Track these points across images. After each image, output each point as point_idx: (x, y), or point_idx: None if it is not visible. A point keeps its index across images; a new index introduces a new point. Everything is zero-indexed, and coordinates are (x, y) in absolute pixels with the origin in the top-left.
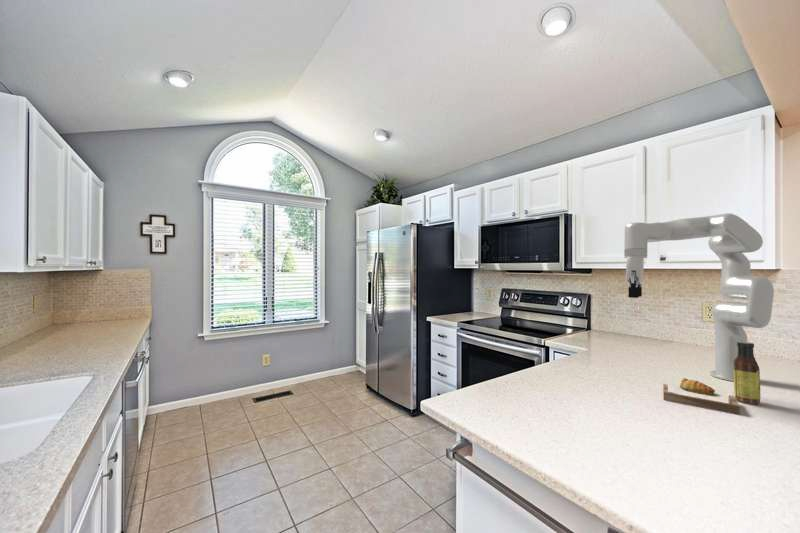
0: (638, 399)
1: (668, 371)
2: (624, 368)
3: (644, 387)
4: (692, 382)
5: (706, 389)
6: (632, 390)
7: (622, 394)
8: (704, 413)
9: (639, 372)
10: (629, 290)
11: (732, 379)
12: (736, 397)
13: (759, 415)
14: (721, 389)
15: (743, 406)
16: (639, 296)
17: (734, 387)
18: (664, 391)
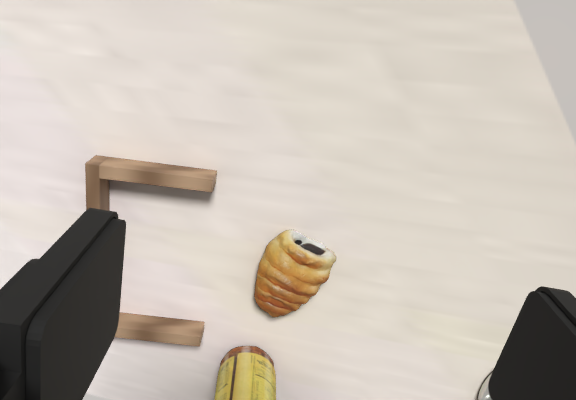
0: (36, 73)
1: (545, 230)
2: (523, 58)
3: (222, 111)
4: (278, 273)
5: (257, 297)
6: (145, 62)
7: (58, 19)
8: (39, 242)
9: (471, 117)
10: (27, 285)
11: (482, 392)
12: (239, 350)
13: (129, 357)
14: (354, 338)
15: (191, 345)
16: (500, 370)
17: (244, 369)
18: (101, 168)
